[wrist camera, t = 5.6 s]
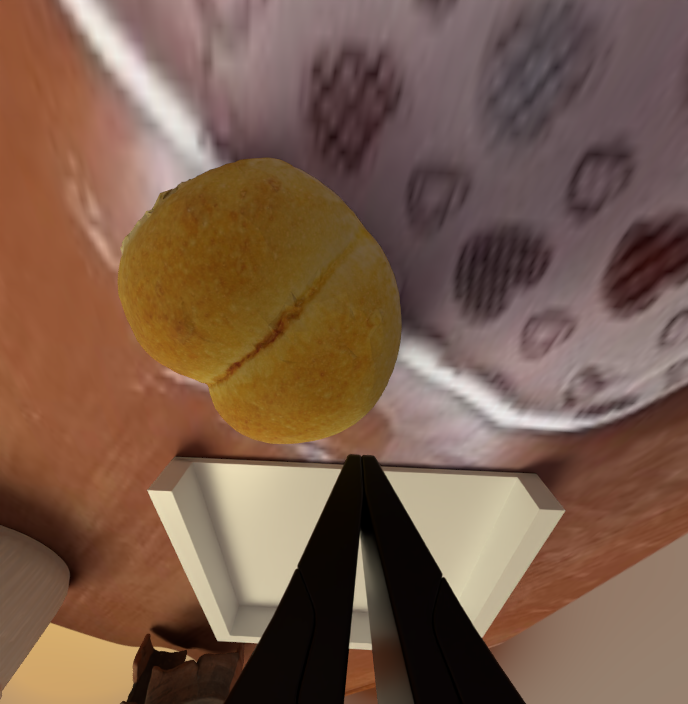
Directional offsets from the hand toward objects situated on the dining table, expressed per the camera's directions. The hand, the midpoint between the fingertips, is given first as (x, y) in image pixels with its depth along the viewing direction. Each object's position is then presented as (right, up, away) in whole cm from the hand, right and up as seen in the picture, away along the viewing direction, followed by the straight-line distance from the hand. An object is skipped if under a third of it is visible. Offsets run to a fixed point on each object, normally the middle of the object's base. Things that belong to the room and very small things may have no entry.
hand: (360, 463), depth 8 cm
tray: (0, -11, +9) cm, 14 cm away
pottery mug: (-16, -26, +18) cm, 36 cm away
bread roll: (+1, +5, +3) cm, 5 cm away
